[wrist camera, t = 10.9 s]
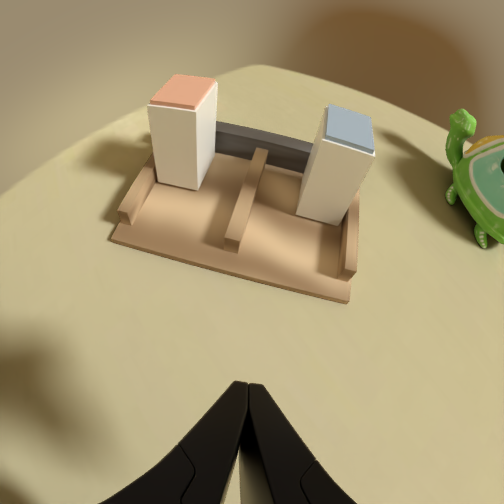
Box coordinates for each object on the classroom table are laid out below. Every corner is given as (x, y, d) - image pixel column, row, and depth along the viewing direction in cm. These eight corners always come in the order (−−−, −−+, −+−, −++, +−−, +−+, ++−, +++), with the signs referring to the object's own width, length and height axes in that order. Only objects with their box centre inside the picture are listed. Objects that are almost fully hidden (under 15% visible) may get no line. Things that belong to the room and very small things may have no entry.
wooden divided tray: (346, 304, 24) (364, 286, 21) (112, 242, 25) (101, 218, 22) (353, 181, 32) (365, 158, 29) (173, 138, 32) (171, 113, 29)
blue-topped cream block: (338, 226, 27) (377, 152, 20) (295, 214, 27) (323, 135, 20) (340, 187, 30) (372, 116, 22) (302, 176, 30) (326, 101, 22)
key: (197, 190, 28) (196, 107, 20) (158, 181, 28) (146, 101, 20) (214, 155, 30) (218, 78, 23) (178, 148, 30) (173, 72, 23)
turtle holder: (451, 150, 40) (485, 94, 30) (519, 241, 32) (569, 192, 22) (406, 156, 36) (444, 86, 26) (487, 269, 28) (552, 210, 18)
